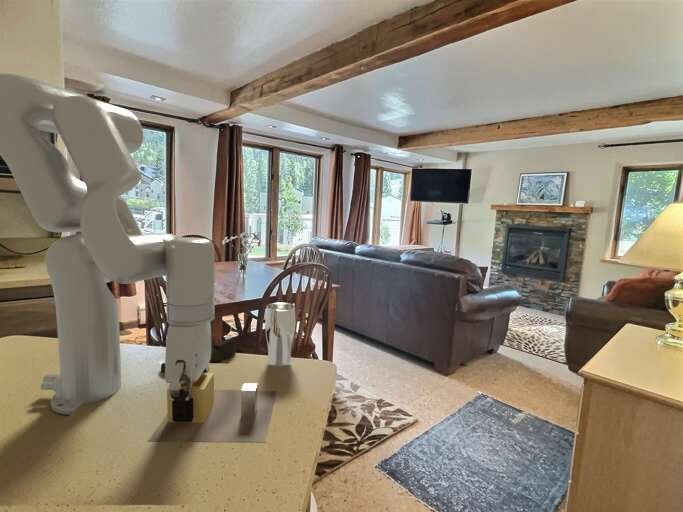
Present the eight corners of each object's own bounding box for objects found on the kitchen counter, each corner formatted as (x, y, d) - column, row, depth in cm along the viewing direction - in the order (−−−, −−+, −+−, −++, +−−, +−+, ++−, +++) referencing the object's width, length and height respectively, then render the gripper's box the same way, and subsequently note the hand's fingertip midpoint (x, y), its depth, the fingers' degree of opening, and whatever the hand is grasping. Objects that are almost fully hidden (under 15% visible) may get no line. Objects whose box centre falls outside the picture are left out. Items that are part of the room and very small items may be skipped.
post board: (147, 450, 57) (146, 411, 56) (185, 396, 73) (184, 365, 72) (264, 450, 58) (265, 412, 57) (276, 397, 74) (277, 367, 73)
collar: (167, 422, 62) (166, 388, 61) (180, 402, 68) (180, 372, 67) (203, 422, 62) (203, 389, 61) (213, 403, 68) (214, 372, 67)
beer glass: (267, 375, 83) (269, 311, 81) (261, 362, 89) (262, 303, 87) (297, 371, 86) (299, 309, 84) (289, 359, 92) (291, 301, 90)
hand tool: (169, 384, 77) (168, 364, 77) (159, 378, 80) (159, 358, 79) (242, 357, 92) (242, 340, 92) (232, 353, 95) (233, 336, 94)
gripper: (186, 296, 71) (187, 382, 73) (144, 327, 53) (147, 437, 56) (226, 298, 71) (225, 383, 74) (196, 328, 54) (197, 438, 56)
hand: (191, 406), depth 65 cm, fingers open, 7 cm apart
